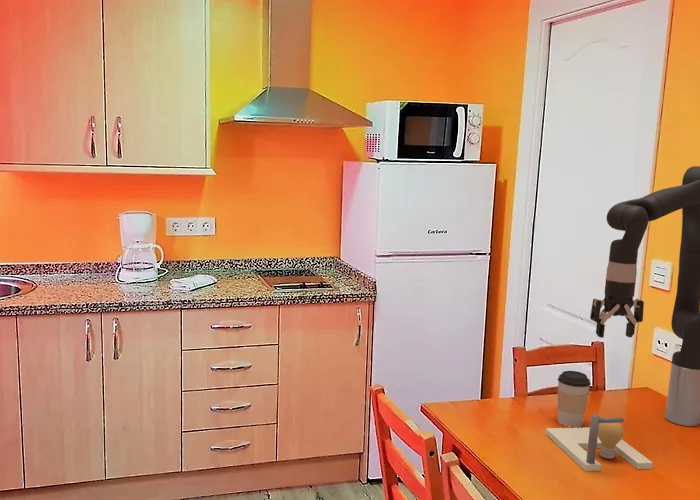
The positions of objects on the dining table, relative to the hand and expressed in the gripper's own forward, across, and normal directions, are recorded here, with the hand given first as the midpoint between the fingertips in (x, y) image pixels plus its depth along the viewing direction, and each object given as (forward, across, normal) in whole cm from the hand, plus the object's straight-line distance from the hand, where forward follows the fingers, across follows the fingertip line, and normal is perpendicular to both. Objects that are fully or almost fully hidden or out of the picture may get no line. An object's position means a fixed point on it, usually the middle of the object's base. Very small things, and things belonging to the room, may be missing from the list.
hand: (614, 336), depth 186 cm
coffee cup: (+28, +6, -8) cm, 30 cm away
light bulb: (+28, +7, +14) cm, 32 cm away
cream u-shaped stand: (+28, +8, +10) cm, 31 cm away
